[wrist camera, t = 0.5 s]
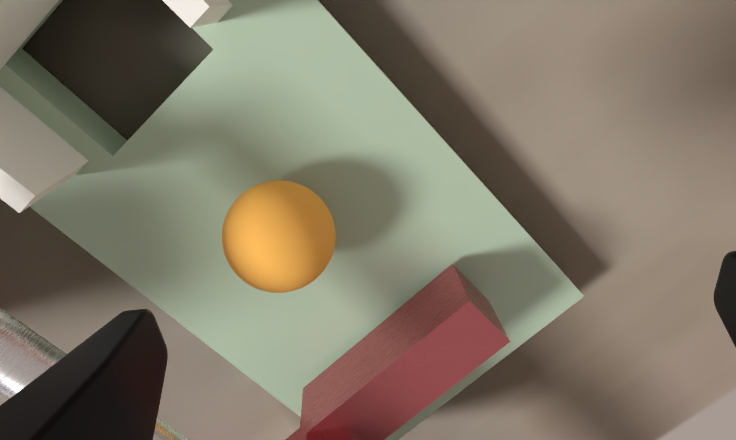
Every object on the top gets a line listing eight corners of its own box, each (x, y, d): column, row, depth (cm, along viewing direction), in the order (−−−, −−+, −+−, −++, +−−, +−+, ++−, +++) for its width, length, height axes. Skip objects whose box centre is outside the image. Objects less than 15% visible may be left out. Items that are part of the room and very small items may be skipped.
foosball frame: (361, 435, 29) (372, 586, 21) (-49, 108, 21) (-245, 164, 14) (566, 275, 26) (659, 383, 19) (174, -160, 19) (76, -262, 11)
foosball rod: (436, 534, 28) (476, 734, 20) (-32, 175, 20) (-255, 283, 12) (603, 416, 26) (717, 589, 18) (154, -38, 18) (25, -66, 10)
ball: (285, 280, 23) (276, 335, 19) (209, 215, 22) (184, 259, 18) (356, 217, 22) (361, 261, 18) (282, 145, 21) (272, 176, 17)
